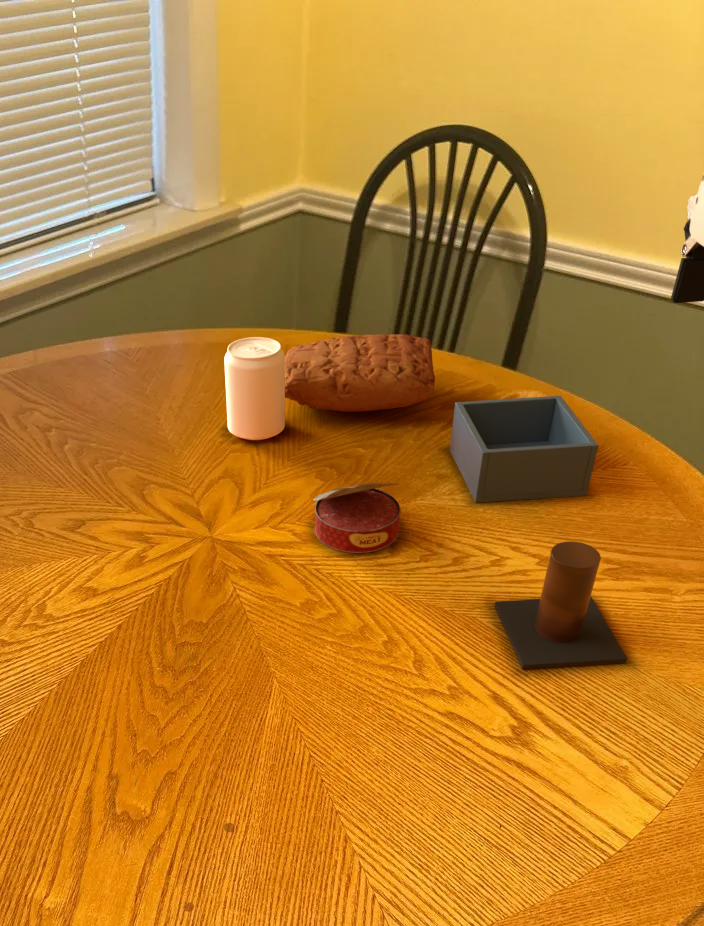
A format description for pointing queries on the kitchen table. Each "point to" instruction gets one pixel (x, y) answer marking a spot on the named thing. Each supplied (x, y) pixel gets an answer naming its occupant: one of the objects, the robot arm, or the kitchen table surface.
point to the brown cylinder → (566, 591)
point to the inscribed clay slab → (360, 372)
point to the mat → (541, 653)
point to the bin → (522, 449)
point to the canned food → (357, 518)
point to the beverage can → (255, 388)
